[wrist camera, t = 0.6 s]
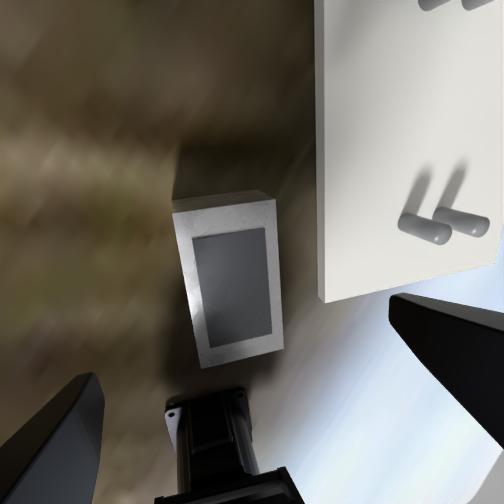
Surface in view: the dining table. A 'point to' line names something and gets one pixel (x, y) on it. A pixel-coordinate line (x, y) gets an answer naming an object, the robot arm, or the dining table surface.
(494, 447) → the dining table surface
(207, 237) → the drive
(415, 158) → the white peg board
